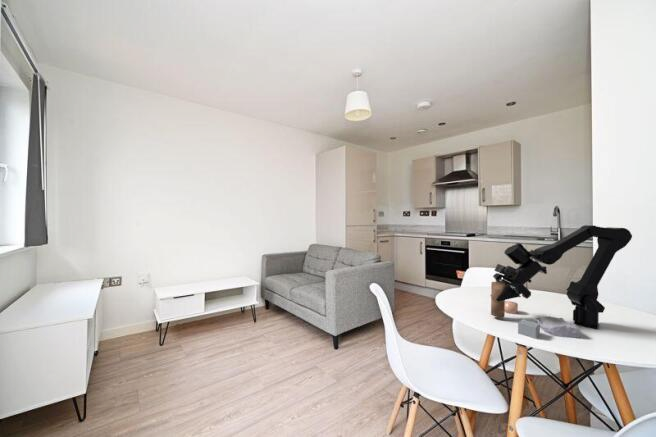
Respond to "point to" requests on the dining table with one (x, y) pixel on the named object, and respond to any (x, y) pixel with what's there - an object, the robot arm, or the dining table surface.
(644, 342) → the dining table surface
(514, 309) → the peach rounded knob part
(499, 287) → the walnut post
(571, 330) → the stone block
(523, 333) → the grey faceted polyhedron
